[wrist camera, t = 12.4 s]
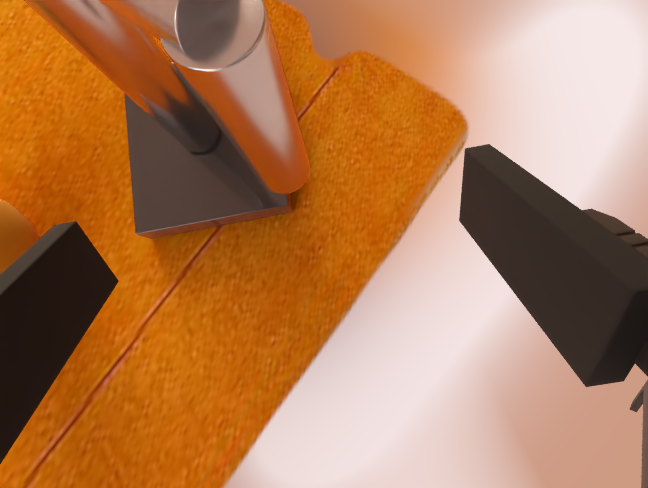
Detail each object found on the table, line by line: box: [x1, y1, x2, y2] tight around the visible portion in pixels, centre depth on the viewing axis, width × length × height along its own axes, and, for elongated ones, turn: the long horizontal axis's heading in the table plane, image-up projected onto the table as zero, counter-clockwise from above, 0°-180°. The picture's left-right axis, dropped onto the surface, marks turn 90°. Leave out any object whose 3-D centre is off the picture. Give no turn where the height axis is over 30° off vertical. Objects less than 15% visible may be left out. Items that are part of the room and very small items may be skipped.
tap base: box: [124, 63, 292, 239], centre depth 28 cm, size 14×12×2 cm
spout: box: [24, 0, 310, 194], centre depth 17 cm, size 13×3×18 cm, turn 54°
